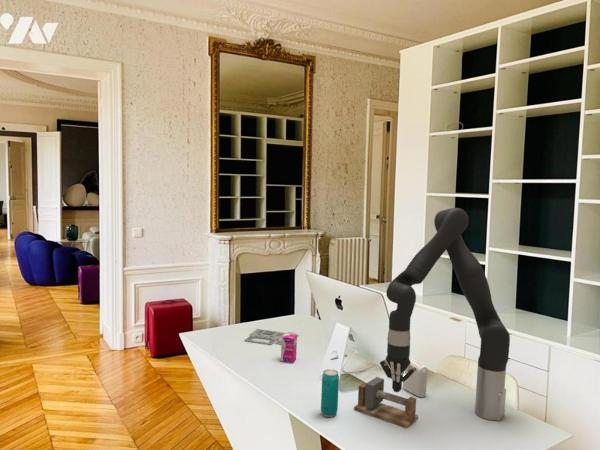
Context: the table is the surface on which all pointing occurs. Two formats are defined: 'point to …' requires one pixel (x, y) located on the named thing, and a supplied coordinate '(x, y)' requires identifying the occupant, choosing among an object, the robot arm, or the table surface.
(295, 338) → the supplement box
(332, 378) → the beverage can
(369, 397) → the collar
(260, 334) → the office telephone
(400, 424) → the rail
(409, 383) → the photo printer
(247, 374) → the table surface
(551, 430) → the table surface
